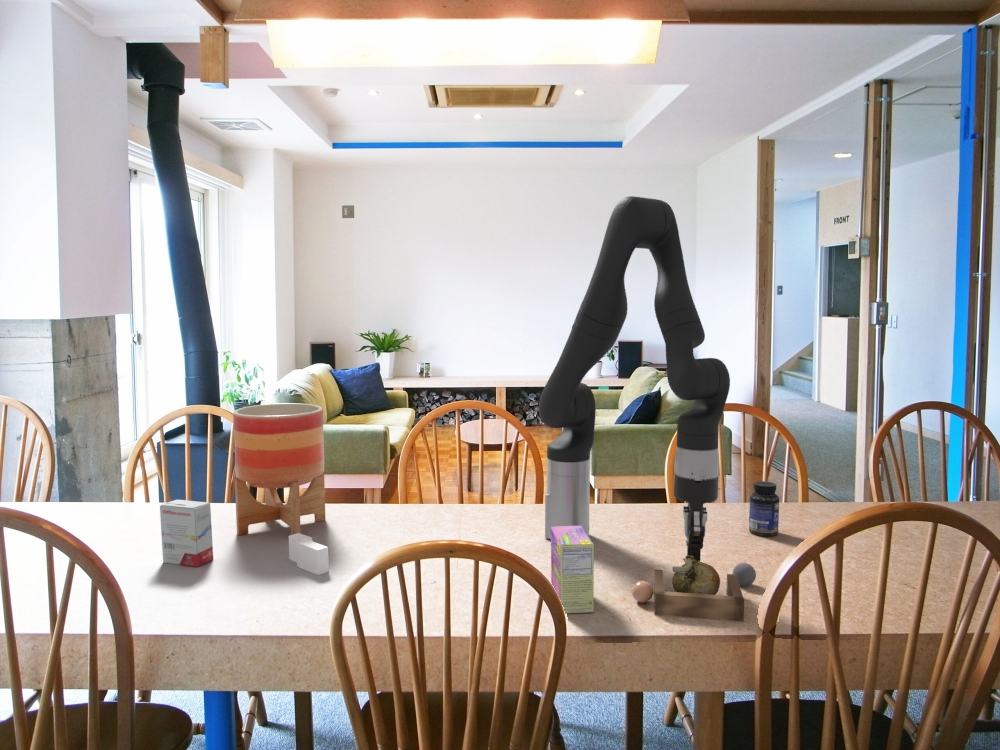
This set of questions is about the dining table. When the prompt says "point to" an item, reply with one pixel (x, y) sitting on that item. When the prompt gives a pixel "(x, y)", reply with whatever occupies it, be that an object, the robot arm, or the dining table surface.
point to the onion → (695, 577)
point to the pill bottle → (764, 509)
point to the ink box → (186, 532)
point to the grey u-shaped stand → (699, 601)
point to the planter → (279, 463)
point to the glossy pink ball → (642, 591)
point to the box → (573, 568)
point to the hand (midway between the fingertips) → (693, 567)
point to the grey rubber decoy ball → (744, 574)
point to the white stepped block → (308, 554)
